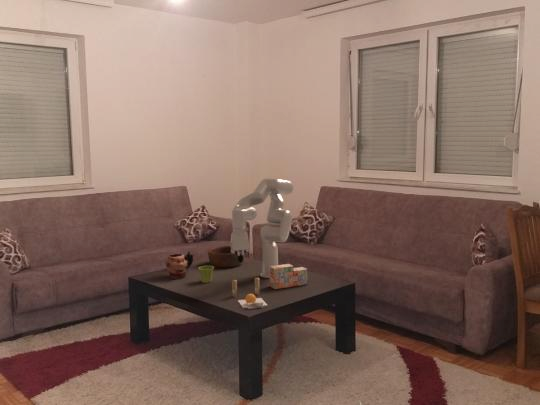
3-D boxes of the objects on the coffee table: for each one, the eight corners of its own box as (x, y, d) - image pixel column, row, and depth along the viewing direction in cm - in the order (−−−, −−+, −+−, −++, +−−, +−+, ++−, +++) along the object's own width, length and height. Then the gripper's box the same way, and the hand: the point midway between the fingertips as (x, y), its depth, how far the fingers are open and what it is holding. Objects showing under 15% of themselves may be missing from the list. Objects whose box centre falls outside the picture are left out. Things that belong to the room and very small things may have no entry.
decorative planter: (159, 275, 349) (158, 253, 347) (176, 271, 357) (175, 250, 355) (176, 281, 334) (175, 258, 332) (193, 277, 341) (192, 255, 340)
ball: (256, 306, 286) (254, 301, 291) (257, 296, 285) (255, 291, 290) (246, 306, 285) (244, 302, 290) (246, 296, 283) (244, 292, 289)
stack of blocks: (302, 282, 329) (302, 261, 327) (307, 284, 323) (307, 264, 322) (270, 286, 320) (269, 265, 319) (274, 289, 315) (274, 268, 313)
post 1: (236, 295, 303) (236, 279, 302) (237, 297, 301) (237, 280, 299) (231, 296, 302) (231, 280, 301) (232, 297, 300) (232, 281, 299)
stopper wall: (262, 306, 284) (262, 301, 284) (263, 307, 283) (263, 302, 282) (247, 308, 282) (247, 303, 281) (248, 308, 280) (247, 304, 280)
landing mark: (261, 298, 298) (261, 297, 298) (267, 305, 285) (267, 305, 285) (237, 300, 294) (237, 300, 294) (243, 308, 282) (243, 307, 282)
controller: (194, 266, 369) (194, 252, 368) (179, 270, 361) (178, 255, 359) (190, 265, 372) (190, 251, 371) (175, 268, 364) (174, 254, 362)
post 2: (258, 293, 307) (258, 277, 305) (260, 294, 304) (259, 278, 303) (254, 293, 306) (254, 278, 305) (255, 295, 303) (255, 279, 302)
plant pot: (211, 284, 327) (211, 269, 326) (196, 283, 329) (196, 269, 328) (216, 279, 336) (216, 265, 335) (201, 279, 338) (201, 265, 337)
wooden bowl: (250, 261, 381) (250, 247, 380) (235, 270, 358) (235, 254, 357) (218, 259, 390) (217, 244, 389) (201, 267, 367) (200, 252, 365)
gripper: (250, 228, 318) (251, 259, 321) (225, 230, 314) (226, 261, 316) (253, 230, 311) (254, 262, 313) (227, 232, 306) (229, 264, 309)
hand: (240, 261), depth 315 cm, fingers closed
